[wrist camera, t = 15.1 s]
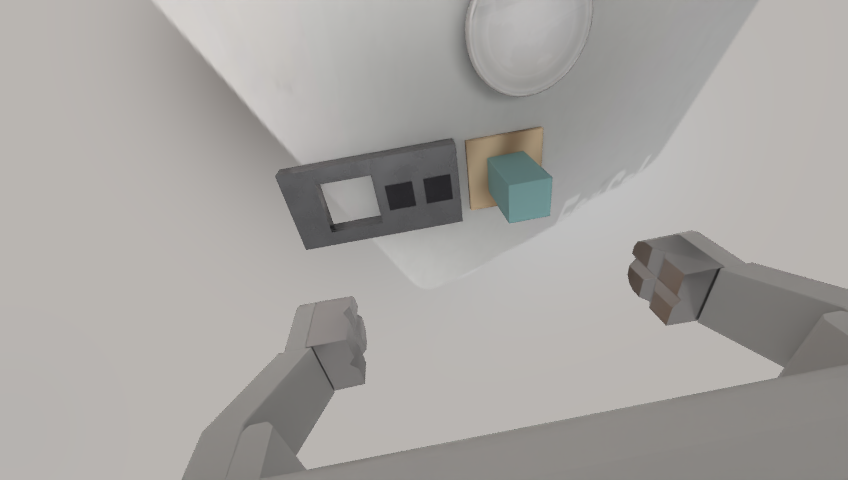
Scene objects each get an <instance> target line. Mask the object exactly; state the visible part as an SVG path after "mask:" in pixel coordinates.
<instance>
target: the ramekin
mask: <svg viewBox="0 0 848 480" xmlns="http://www.w3.org/2000/svg"><path fill="white" fill-rule="evenodd" d="M592 15H593V0H471V1H470V5H469V8H468V10H467V16H466V23H465V41H466V44H467V50H468V54H469V57H470V60H471V63H472V65H473V67H474V69H475V71H476V72H477V74H478V75H479V76H480V78H481V79H482V80H483V81H484V82H485V83H486V84H487V85H488V86H490V87H491V88H492V89H494V90H496V91H498V92H500V93H502V94H505V95H509V96H514V97H523V96H530V95H534V94H537V93H540V92H542V91H544V90H546V89H548V88H550V87H551V86H553V85H554V84H556V83H557V82H558V81H559V80H560V79H561V78H563V77H564V76H565V75H566V74H567V73H568V72H569V70H570V69H571V68H572V66H573V65H574V64H575V62H576V60H577V59H578V57H579V56H580V54H581V52H582V50H583V48H584V46H585V43H586V41H587V38H588V35H589V31H590V27H591V23H592Z"/></svg>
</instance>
